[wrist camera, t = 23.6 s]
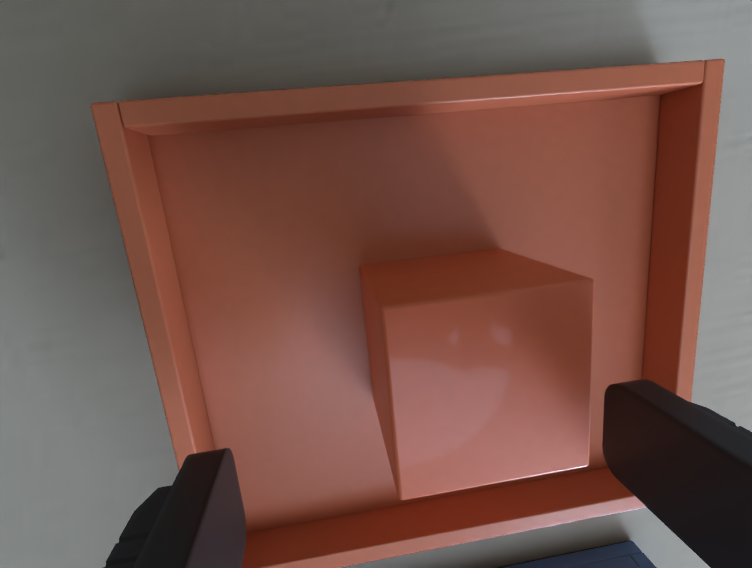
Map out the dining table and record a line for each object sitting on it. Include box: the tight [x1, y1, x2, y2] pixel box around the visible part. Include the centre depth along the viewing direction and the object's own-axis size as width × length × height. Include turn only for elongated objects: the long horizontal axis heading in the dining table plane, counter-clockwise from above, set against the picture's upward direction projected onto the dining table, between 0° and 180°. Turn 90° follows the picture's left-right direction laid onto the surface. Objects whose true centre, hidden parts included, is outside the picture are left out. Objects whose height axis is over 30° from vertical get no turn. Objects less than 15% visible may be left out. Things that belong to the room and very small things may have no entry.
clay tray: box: [91, 59, 725, 568], centre depth 13 cm, size 16×14×2 cm
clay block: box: [359, 249, 595, 500], centre depth 11 cm, size 5×5×5 cm
